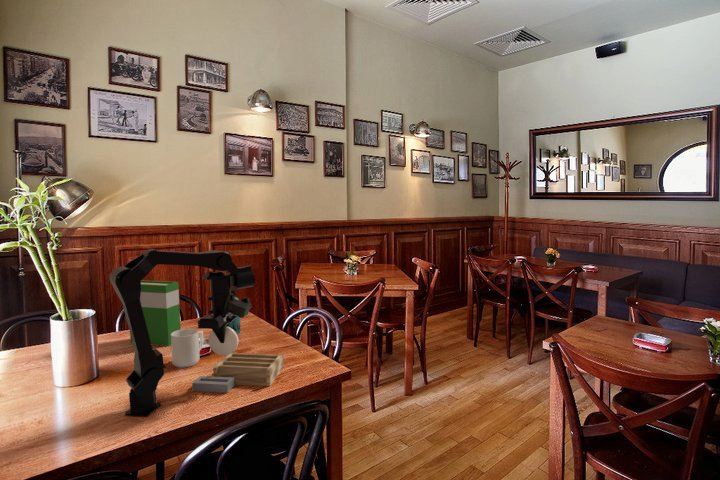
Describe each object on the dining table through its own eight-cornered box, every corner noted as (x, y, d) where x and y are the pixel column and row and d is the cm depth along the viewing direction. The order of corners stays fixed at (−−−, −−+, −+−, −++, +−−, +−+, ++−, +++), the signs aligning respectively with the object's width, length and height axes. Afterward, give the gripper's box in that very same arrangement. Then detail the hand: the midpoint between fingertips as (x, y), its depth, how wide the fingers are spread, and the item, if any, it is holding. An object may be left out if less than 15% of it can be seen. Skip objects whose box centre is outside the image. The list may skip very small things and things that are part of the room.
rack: (270, 386, 125) (269, 370, 124) (213, 383, 127) (213, 367, 126) (283, 367, 139) (283, 353, 138) (232, 365, 141) (232, 351, 140)
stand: (227, 392, 121) (227, 384, 120) (192, 391, 122) (192, 383, 122) (234, 385, 126) (234, 377, 125) (200, 383, 127) (200, 375, 127)
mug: (184, 370, 137) (183, 338, 136) (166, 365, 141) (164, 334, 140) (212, 358, 148) (210, 328, 146) (194, 354, 151) (193, 324, 150)
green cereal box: (130, 342, 164) (127, 283, 162) (144, 336, 171) (141, 280, 169) (168, 346, 160) (165, 285, 158) (181, 339, 167) (178, 281, 165)
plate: (237, 356, 124) (236, 327, 123) (209, 355, 125) (207, 326, 124) (239, 354, 126) (237, 326, 125) (211, 353, 127) (209, 325, 126)
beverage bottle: (223, 335, 172) (221, 288, 170) (239, 333, 175) (238, 287, 173) (225, 340, 166) (223, 292, 164) (242, 338, 169) (240, 290, 167)
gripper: (233, 300, 113) (236, 354, 115) (257, 285, 132) (259, 332, 133) (195, 299, 115) (198, 353, 116) (224, 285, 133) (227, 331, 135)
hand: (223, 342), depth 125 cm, fingers closed on plate, 1 cm apart
